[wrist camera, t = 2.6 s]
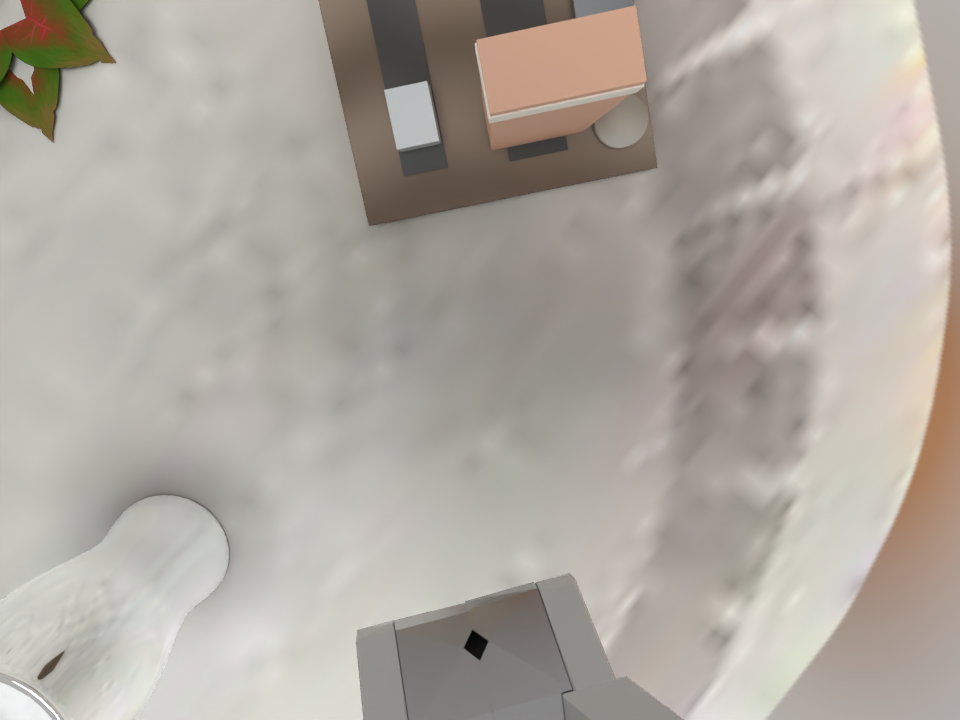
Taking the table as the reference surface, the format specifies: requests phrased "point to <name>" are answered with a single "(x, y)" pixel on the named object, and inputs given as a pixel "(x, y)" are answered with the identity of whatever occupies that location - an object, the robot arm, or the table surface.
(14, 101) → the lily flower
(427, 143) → the grey fader knob
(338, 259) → the table surface
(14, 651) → the beer glass
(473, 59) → the walnut control box
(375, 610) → the table surface
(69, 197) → the table surface
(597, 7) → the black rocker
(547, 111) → the terracotta paddle
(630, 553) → the table surface
